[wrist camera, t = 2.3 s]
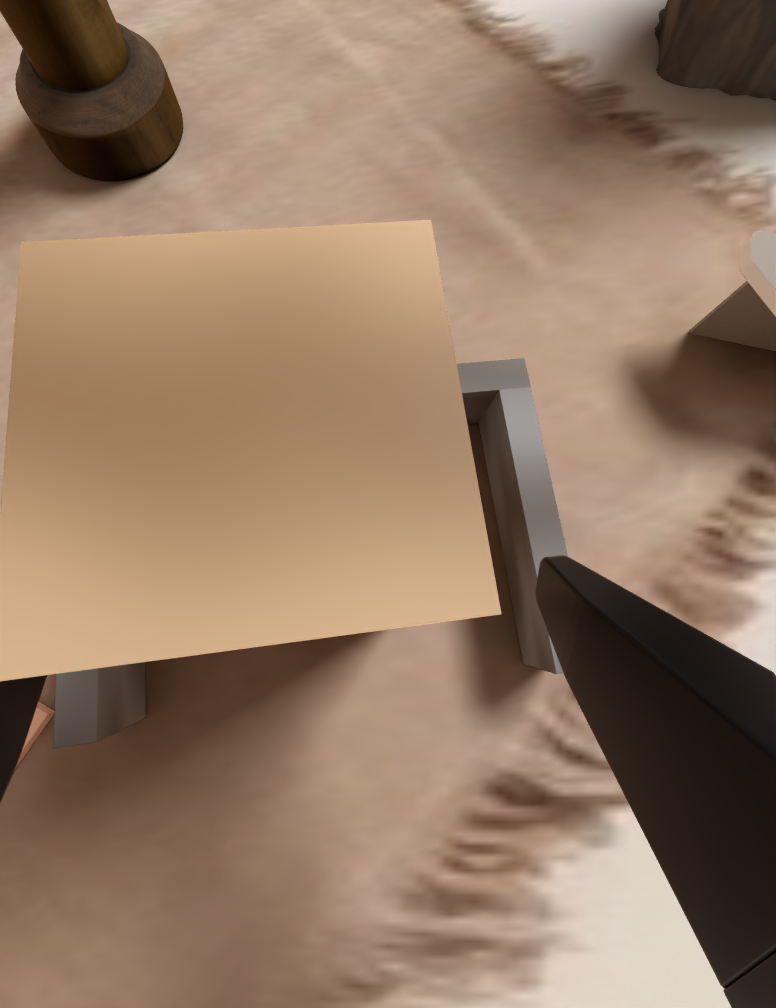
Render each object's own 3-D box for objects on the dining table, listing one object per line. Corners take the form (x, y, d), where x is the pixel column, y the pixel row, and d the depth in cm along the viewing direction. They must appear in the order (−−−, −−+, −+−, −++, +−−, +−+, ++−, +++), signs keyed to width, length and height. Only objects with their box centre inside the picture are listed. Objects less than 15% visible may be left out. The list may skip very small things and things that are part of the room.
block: (398, 612, 17) (501, 614, 5) (268, 629, 17) (-13, 683, 4) (383, 489, 18) (431, 220, 6) (260, 502, 18) (21, 242, 5)
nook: (553, 659, 17) (592, 669, 14) (110, 722, 16) (53, 748, 13) (500, 395, 20) (524, 358, 17) (115, 430, 18) (68, 395, 15)
